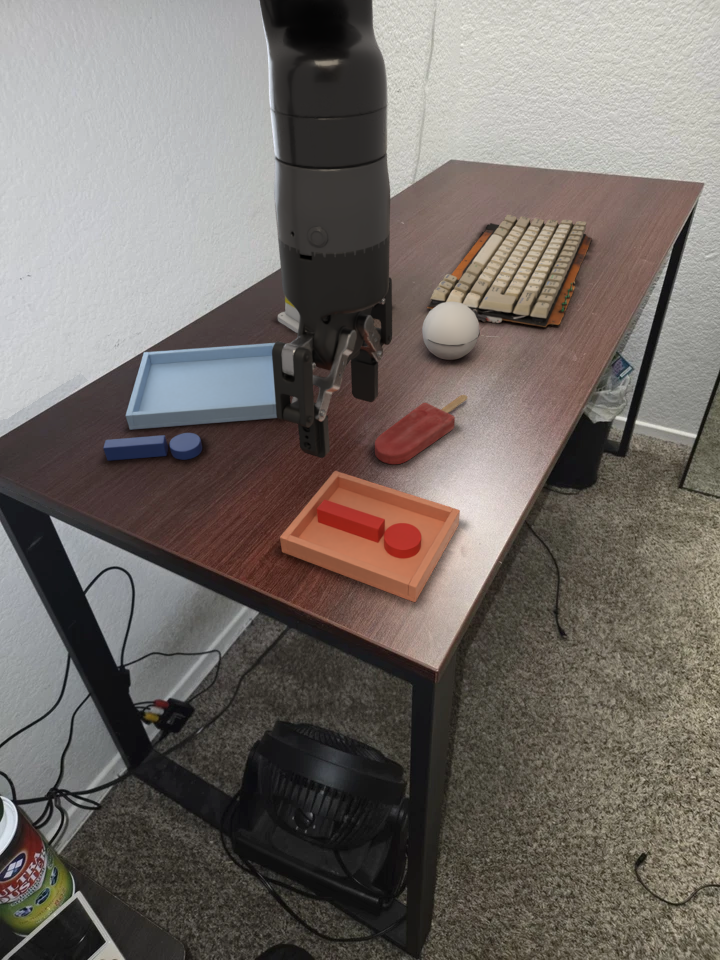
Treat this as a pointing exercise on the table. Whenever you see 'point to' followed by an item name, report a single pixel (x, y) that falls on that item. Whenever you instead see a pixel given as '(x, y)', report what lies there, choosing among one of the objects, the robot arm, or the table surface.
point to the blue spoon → (153, 447)
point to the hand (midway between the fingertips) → (341, 424)
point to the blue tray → (203, 386)
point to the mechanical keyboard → (518, 271)
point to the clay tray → (365, 555)
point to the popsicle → (415, 432)
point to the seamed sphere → (451, 330)
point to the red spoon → (371, 528)
